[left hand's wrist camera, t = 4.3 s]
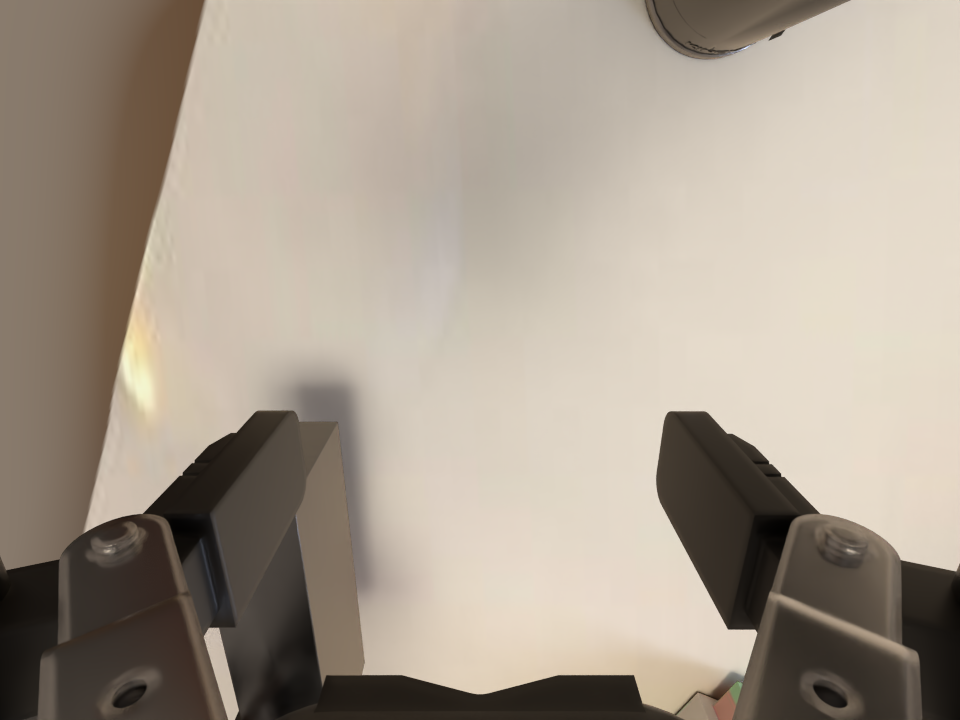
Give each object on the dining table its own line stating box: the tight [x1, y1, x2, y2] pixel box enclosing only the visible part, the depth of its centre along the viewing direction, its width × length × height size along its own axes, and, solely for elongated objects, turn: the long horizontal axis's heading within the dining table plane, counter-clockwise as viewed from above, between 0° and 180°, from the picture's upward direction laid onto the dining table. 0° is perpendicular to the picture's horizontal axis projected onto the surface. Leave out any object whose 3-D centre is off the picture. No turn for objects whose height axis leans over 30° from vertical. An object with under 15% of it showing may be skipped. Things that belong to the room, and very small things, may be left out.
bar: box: [219, 422, 365, 720], centre depth 36 cm, size 23×6×9 cm, turn 0°
